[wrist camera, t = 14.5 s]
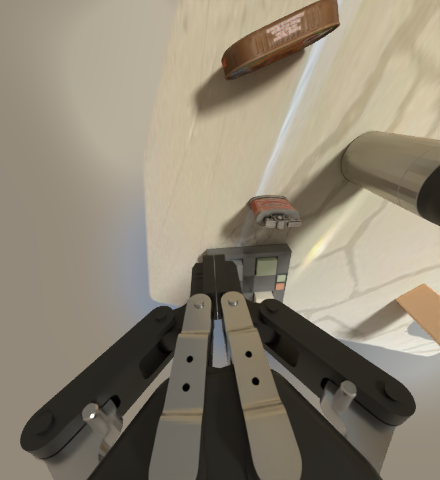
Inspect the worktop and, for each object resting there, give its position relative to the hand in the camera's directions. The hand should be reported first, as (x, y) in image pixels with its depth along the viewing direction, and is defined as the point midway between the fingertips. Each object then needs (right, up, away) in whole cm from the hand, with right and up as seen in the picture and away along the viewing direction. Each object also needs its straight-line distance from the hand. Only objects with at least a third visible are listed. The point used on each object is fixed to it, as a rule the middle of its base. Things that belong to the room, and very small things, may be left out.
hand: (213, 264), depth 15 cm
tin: (+8, +30, +16) cm, 35 cm away
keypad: (+7, -8, +40) cm, 41 cm away
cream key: (+12, -13, +41) cm, 44 cm away
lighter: (+10, +10, +29) cm, 33 cm away
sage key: (+11, -3, +36) cm, 38 cm away
